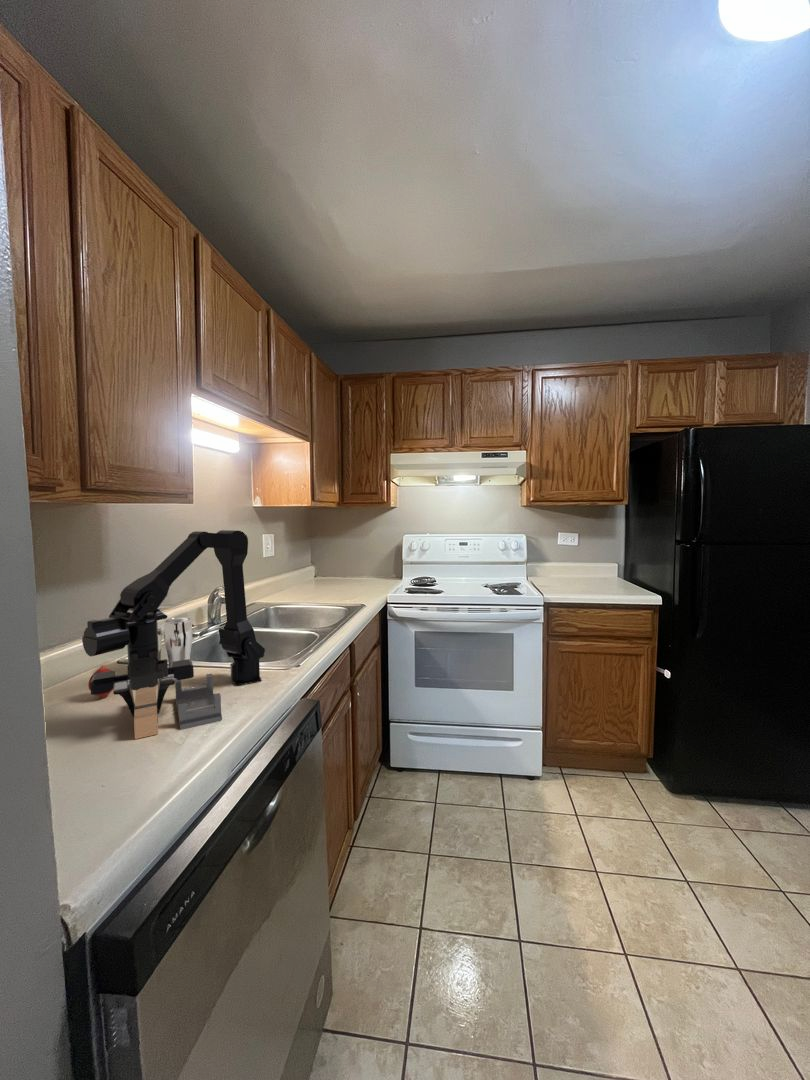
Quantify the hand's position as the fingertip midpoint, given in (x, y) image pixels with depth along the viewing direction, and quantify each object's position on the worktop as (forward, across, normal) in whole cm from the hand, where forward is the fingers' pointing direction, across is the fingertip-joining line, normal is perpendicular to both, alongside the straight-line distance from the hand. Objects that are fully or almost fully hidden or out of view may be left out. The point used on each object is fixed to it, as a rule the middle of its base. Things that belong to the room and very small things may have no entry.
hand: (146, 714), depth 98 cm
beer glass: (+1, +8, +28) cm, 29 cm away
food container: (+1, -1, +39) cm, 39 cm away
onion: (+1, -9, +19) cm, 21 cm away
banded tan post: (+1, 0, 0) cm, 1 cm away
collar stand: (+1, +10, 0) cm, 10 cm away
